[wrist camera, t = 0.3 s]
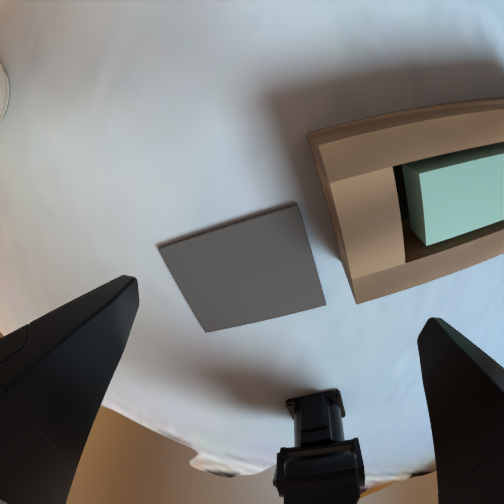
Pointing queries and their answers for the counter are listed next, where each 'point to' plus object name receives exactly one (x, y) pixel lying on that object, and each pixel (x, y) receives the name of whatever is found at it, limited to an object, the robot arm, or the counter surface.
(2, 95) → the lidded jar
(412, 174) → the teal slab
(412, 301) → the counter surface
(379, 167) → the pocket board
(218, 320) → the rubber mat
